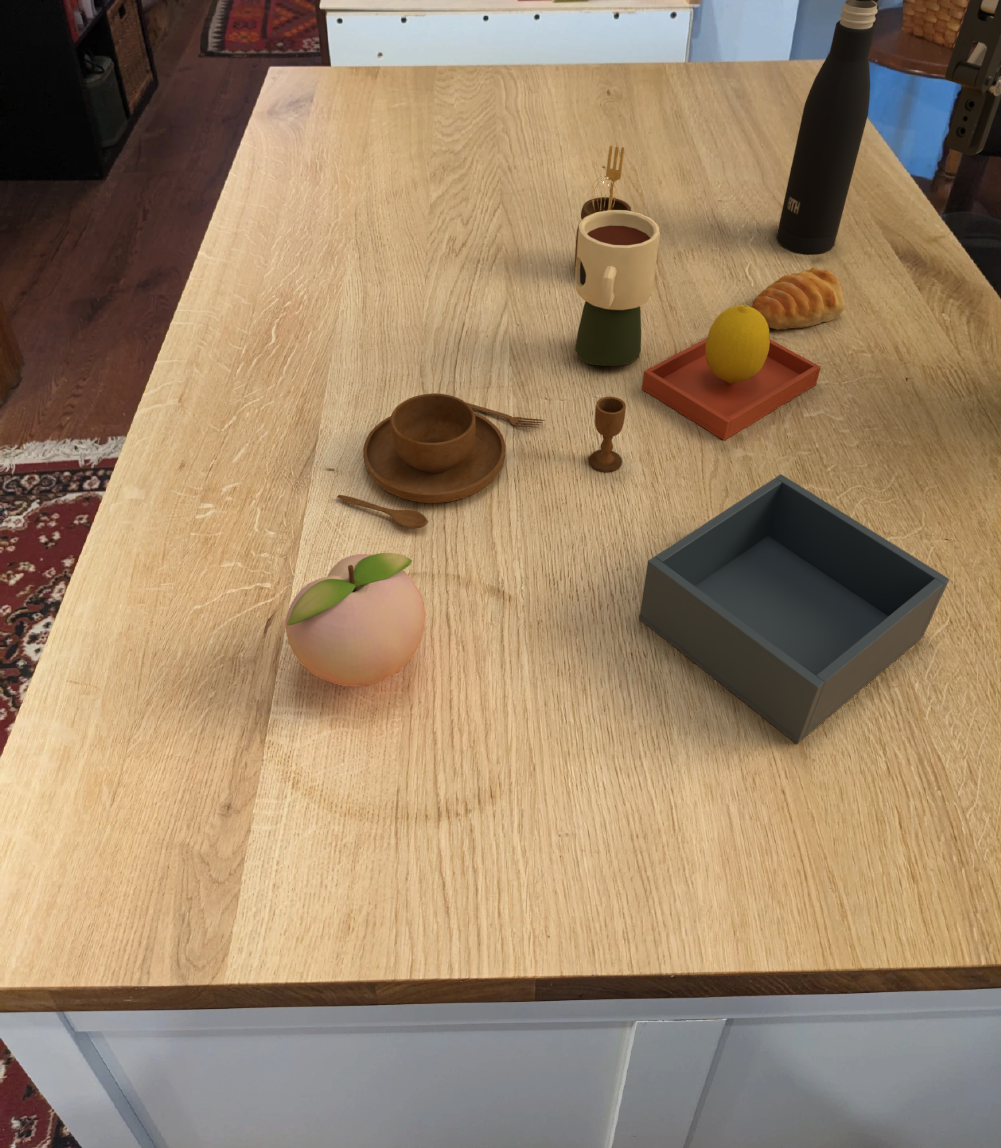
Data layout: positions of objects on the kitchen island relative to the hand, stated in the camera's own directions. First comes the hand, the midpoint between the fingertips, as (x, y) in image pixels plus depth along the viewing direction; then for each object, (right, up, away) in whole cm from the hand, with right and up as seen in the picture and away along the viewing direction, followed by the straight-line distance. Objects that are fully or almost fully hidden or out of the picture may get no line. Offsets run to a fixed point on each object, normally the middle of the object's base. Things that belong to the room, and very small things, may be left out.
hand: (999, 133), depth 66 cm
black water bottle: (+2, +9, +48) cm, 49 cm away
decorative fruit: (-42, -35, +5) cm, 55 cm away
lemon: (-11, -11, +28) cm, 32 cm away
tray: (-11, -11, +28) cm, 32 cm away
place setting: (-34, -21, +19) cm, 44 cm away
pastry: (-2, -2, +37) cm, 37 cm away
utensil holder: (-22, +4, +43) cm, 48 cm away
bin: (-12, -33, +7) cm, 36 cm away
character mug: (-22, -8, +32) cm, 40 cm away
